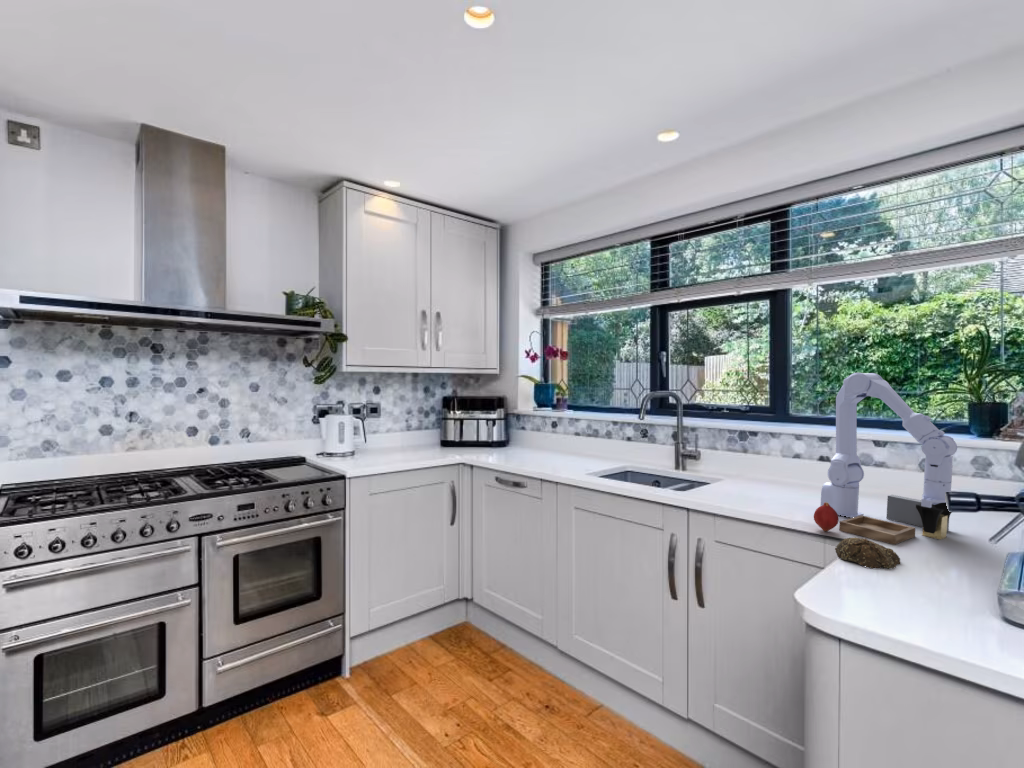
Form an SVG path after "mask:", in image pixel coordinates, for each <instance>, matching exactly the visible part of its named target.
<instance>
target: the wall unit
mask: <svg viewBox="0 0 1024 768" xmlns="http://www.w3.org/2000/svg"><path fill="white" fill-rule="evenodd" d="M886 500H887V501H886V505H887V506H886V518H887V519H886V520H890V519H891V520H890V521H894V520H895V522H900V523H903V524H907V525H912V526H916V527H922V528H923V524H922V520H921V516H920V514H919V512H918V510H917V509H916V504H918V503H919V504H921V500H922V499H916V498H912V497H905V496H901V495H896V494H889V495H887V499H886ZM949 528H950V518H949V519H948V522H947V532H948V531H949V530H950V529H949Z"/></svg>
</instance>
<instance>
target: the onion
mask: <svg viewBox="0 0 1024 768" xmlns="http://www.w3.org/2000/svg"><path fill="white" fill-rule="evenodd" d="M813 520H814V523H816V525H817V526H818V527H819V528H821V531H823V532H828V531H830V530H832V529H834V528H836V526H837V525H838V524H839V521H840V520H839V515H838V514H837V512H836V511H835V510H834V509H833V508H832V507H831V506H830V505H829V504H828V503H827V502H825V503H824V505H823V506H821V505H820V506H819V507H817V508H816V509H815V511H814V513H813Z"/></svg>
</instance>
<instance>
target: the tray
mask: <svg viewBox="0 0 1024 768" xmlns="http://www.w3.org/2000/svg"><path fill="white" fill-rule="evenodd" d="M838 526H839V527H838V529H839V531H841V532H845V533H849V534H853V535H856V536H860V537H862V538H863V537H864V538H866V539H867V538H868V539H872V540H876V541H879V542H883V543H885V544H886V543H887V544H891V545H897V544H900V543H902V542H905V541H908V540H910V539H913V538H915V537H916V527H913V526H909V525H906V524H905V525H904V524H900V523H895V522H891V521H888V520H883V519H878V518H874V517H870V516H866V515H861V516H857V517H854V518H846V519H843V520H839V525H838Z"/></svg>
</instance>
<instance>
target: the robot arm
mask: <svg viewBox="0 0 1024 768" xmlns="http://www.w3.org/2000/svg"><path fill="white" fill-rule="evenodd" d="M882 377H883V376H881V375H879V374H878V373H875V372H869V373H867V372H866V373H865V372H853V373H851V374H849V375H847V376H846V377H845V378H844V379H843V380H842V381H843V382H842V386H841V388H840V389H839V391H838V392H837V395H836V397H835V453H834V455H833V457H832V458H831V459H830V466H829V468H828V469H827V477H828V479H829V481H830V482H829V481H828V482H827V481H826V482H824V483H823V485H822V487H821V489H820V506H823V505H824V503H825V502H827V503H828V504H829V505H830V506H831V507H832V508H833V509H834V510H835V511H836V512H837V514H838V516H840V515H841V516H840V517H844V516H846V517H845V518H848V517H850V518H853V517H857V516H861V515H862V516H864V513H863V512H859V495H860V482H862V480H863V479H864V478H865V477H864V476H865V471H864V469H863V467H862V463H861V459H860V457H859V456H858V455H857V450H858V448H857V447H858V445H857V442H858V441H857V437H858V436H857V434H858V433H857V430H858V428H857V425H858V424H857V422H858V421H857V417H858V416H857V415H858V414H857V407H858V406H857V405H858V403H859V402H861V401H862V400H863V399H865V398H866V397H872V398H877V399H879V400H881V401H882V402H883V403H884V404H885V405H886V406H888V407H889V408H890V409H891V410H892V411H893V412H894V413H895V414H896V415H898V417H900V418H901V420H902V425H901V426H902V427H903V428H904V429H905V430H906V431H907V432H908V433H909V434H910V435H911V436H912V438H913V439H914V440H916V442H917V443H918V444H919V445H921V447H920V449H921V451H922V453H923V454H924V455H925V459H924V473H923V474H924V475H923V491H922V492H923V493H922V494H921V499H920V500H921V504H919V503H918V504H916V509H917V510H918V512H919V514H920V516H921V520H922V524H923V527H922V530H923V529H924V532H928V533H933V534H934V533H935V531H936V527H937V523H938V519H939V517H940V515H941V514H943V515H947V516H948V518H947V522H948V519H949V520H950V516H951V514H952V513H953V511H952V512H949V511H948V509H947V506H946V502H945V492H951V493H952V482H953V481H952V476H953V459H954V457H953V455H955V454H956V453H957V450H958V445H957V443H956V441H955V440H954V438H953V437H951V436H949V435H945V434H946V433H945V431H944V430H940V429H939V428H938V427H937V426H936V425H935V424H933V422H931V420H932V418H931V417H930V416H929V415H924V414H923V413H918V412H914V410H912V408H911V407H910V406H909V405H908V404H907V403H906V401H905V400H904V399H903V398H902V397H901V396H900V395H899V394H898V393H897V392H896V391H895V389H894V388H893V387H891V385H890V383H889V382H888V381H886V380H885V379H883V378H882ZM850 518H849V519H850Z"/></svg>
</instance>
